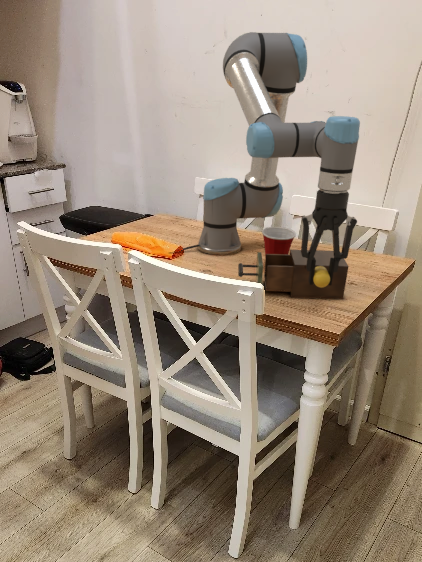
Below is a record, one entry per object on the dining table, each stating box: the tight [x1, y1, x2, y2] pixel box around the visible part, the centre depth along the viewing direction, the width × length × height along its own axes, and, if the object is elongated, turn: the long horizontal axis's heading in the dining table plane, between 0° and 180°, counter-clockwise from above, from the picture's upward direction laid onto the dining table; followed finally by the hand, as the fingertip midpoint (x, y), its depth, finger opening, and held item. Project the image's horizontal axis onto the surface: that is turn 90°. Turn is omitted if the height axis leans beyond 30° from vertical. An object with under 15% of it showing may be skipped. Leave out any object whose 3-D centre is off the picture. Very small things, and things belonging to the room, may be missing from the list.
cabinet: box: [289, 249, 349, 300], centre depth 140 cm, size 15×14×10 cm
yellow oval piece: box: [313, 266, 330, 288], centre depth 127 cm, size 4×8×4 cm, turn 177°
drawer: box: [237, 251, 294, 293], centre depth 140 cm, size 19×12×8 cm, turn 87°
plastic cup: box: [261, 226, 297, 258], centre depth 154 cm, size 11×11×12 cm
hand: (319, 282), depth 127 cm, fingers closed on yellow oval piece, 4 cm apart
